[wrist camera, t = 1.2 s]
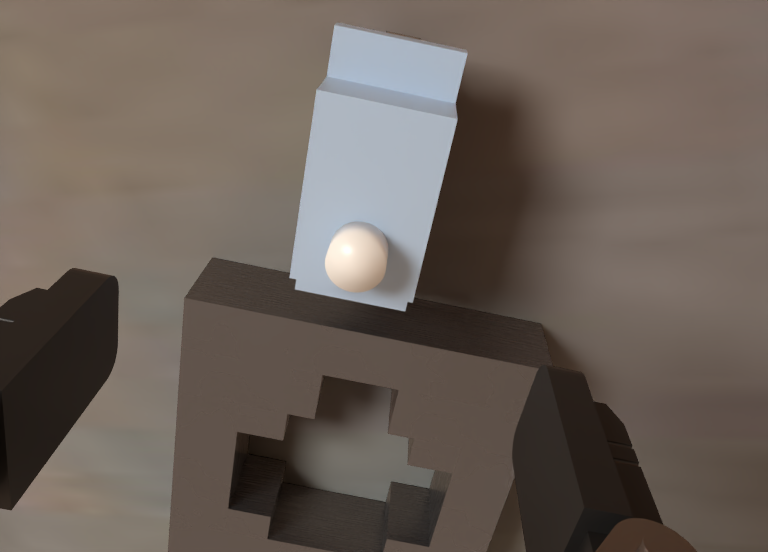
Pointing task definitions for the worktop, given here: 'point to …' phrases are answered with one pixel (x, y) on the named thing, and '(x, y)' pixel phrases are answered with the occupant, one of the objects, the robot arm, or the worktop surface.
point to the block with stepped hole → (300, 398)
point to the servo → (375, 165)
